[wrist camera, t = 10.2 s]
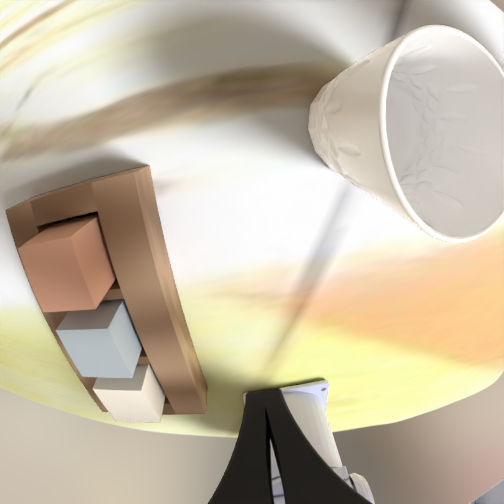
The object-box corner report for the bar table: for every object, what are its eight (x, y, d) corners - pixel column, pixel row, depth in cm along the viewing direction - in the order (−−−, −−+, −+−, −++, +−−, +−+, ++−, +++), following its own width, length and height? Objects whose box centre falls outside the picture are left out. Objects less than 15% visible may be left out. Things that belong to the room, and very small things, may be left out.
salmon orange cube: (119, 273, 17) (96, 309, 13) (70, 279, 17) (43, 312, 13) (102, 213, 15) (70, 236, 11) (52, 224, 15) (17, 248, 11)
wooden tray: (207, 387, 24) (206, 413, 21) (110, 388, 23) (102, 411, 21) (149, 165, 16) (133, 172, 13) (29, 198, 16) (5, 210, 13)
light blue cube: (145, 338, 19) (132, 378, 16) (99, 340, 19) (82, 376, 15) (127, 291, 18) (107, 328, 14) (80, 296, 17) (55, 330, 14)
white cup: (279, 160, 17) (340, 196, 7) (320, 48, 14) (407, -17, 5) (385, 203, 18) (487, 266, 9) (419, 103, 15) (534, 106, 6)
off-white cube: (167, 385, 22) (160, 422, 18) (125, 385, 21) (115, 420, 18) (151, 351, 20) (141, 390, 16) (107, 353, 20) (92, 388, 16)
